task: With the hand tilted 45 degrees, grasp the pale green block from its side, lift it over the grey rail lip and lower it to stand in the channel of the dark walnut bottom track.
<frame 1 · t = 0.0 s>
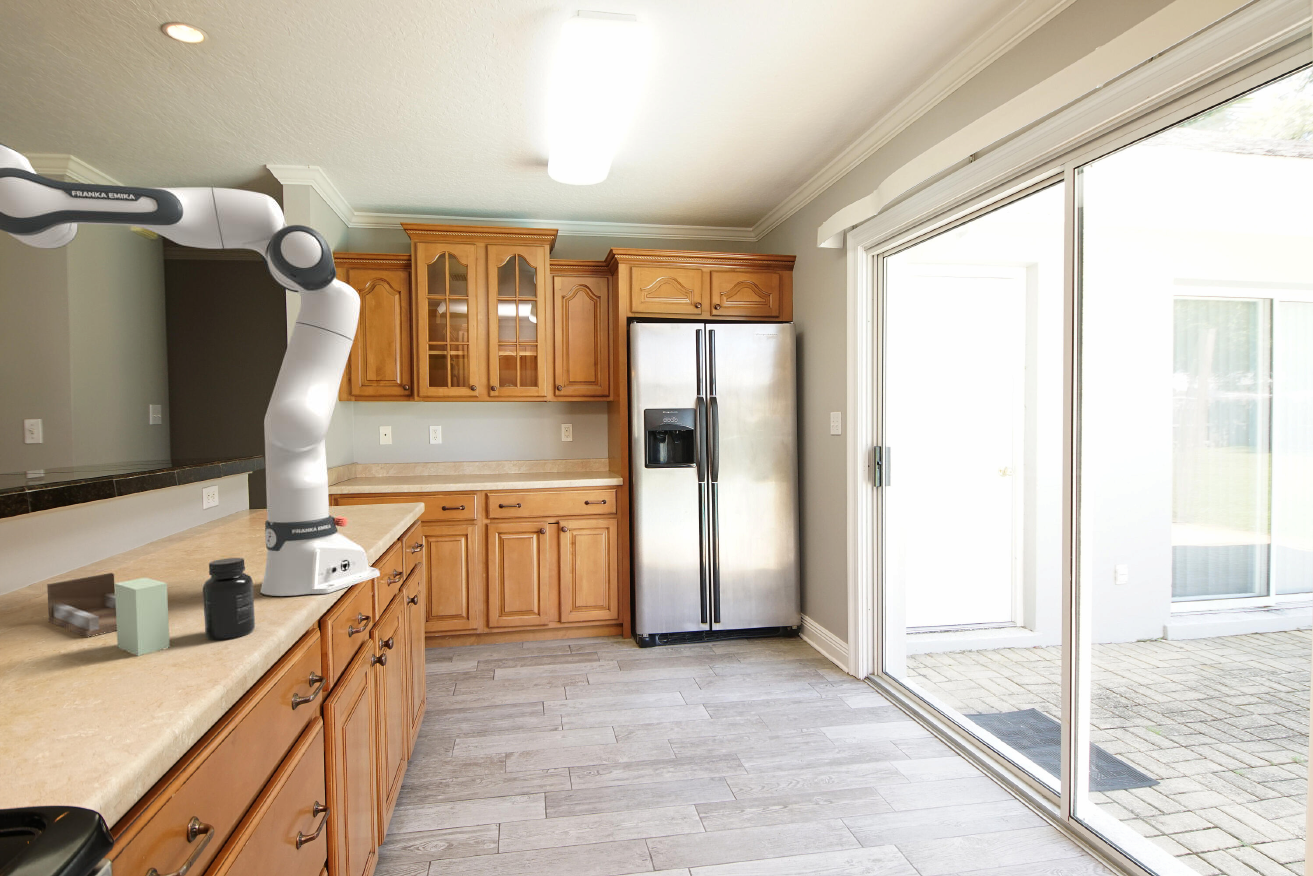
supplement bottle: (230, 634, 107), on the countertop
pale green block: (143, 647, 101), on the countertop
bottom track: (101, 621, 114), on the countertop
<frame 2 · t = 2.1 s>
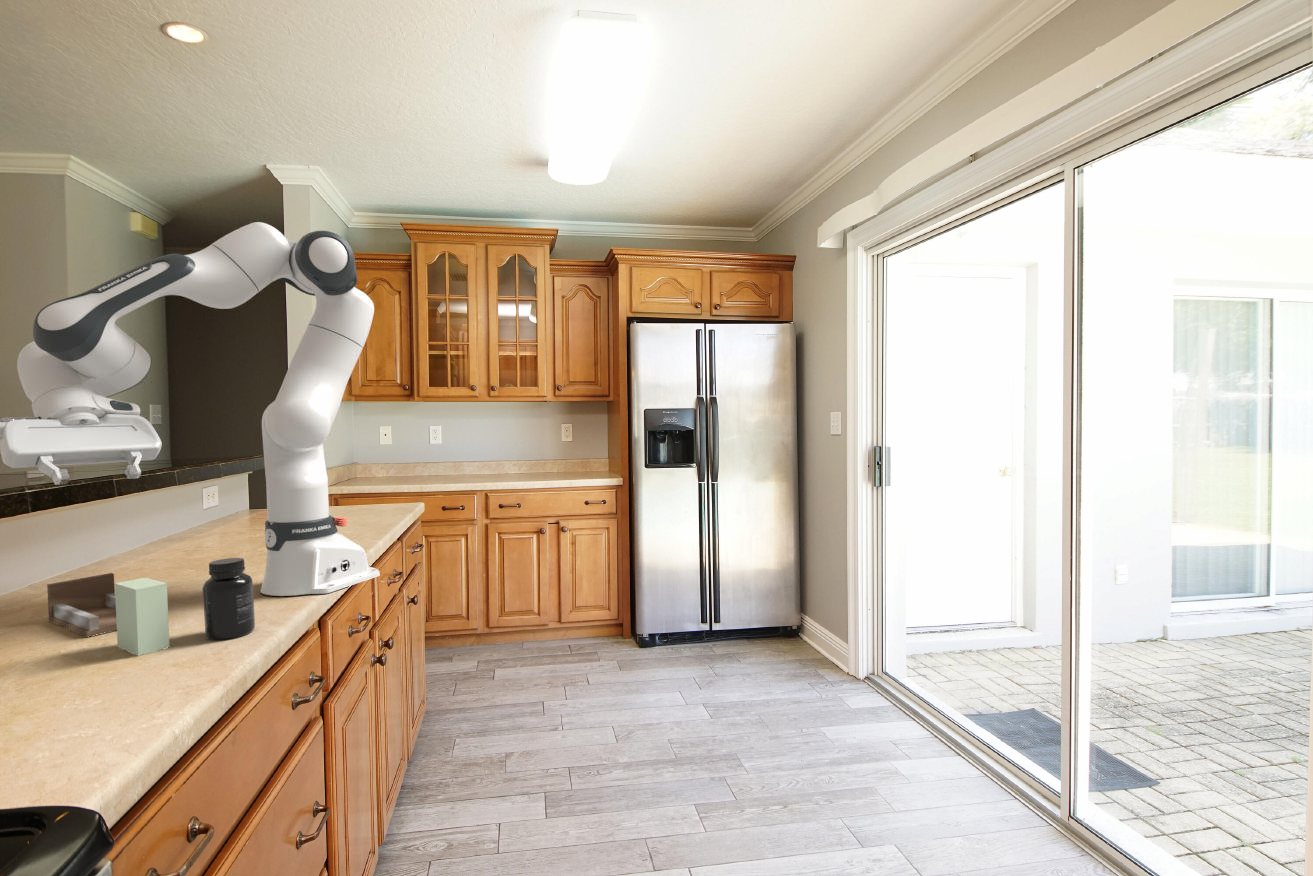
hand: (100, 478, 106), 25 cm above the countertop, tool tilted 45°, fingers open, 8 cm apart
nothing on the countertop moved.
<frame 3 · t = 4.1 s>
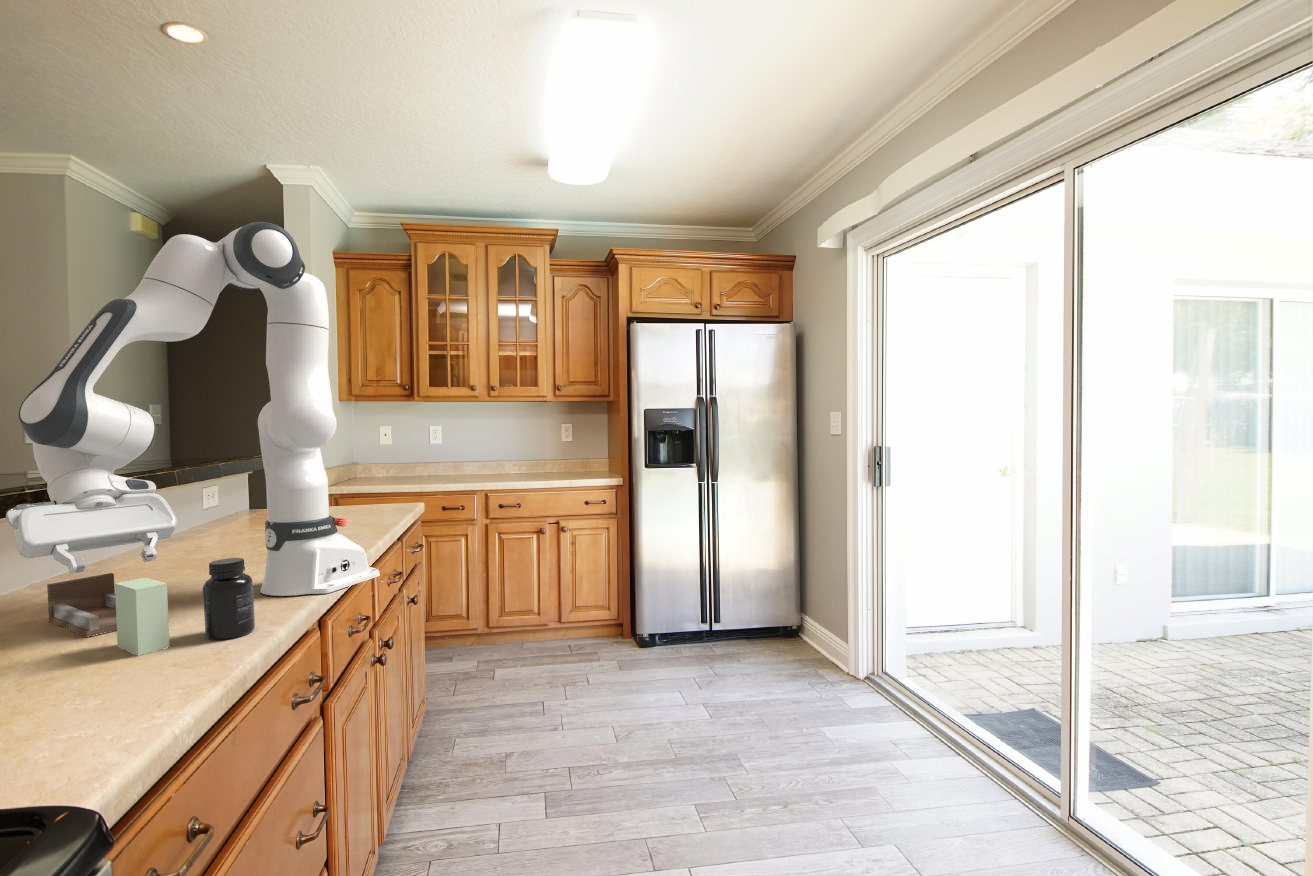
hand: (115, 564, 104), 12 cm above the countertop, tool tilted 45°, fingers open, 8 cm apart
nothing on the countertop moved.
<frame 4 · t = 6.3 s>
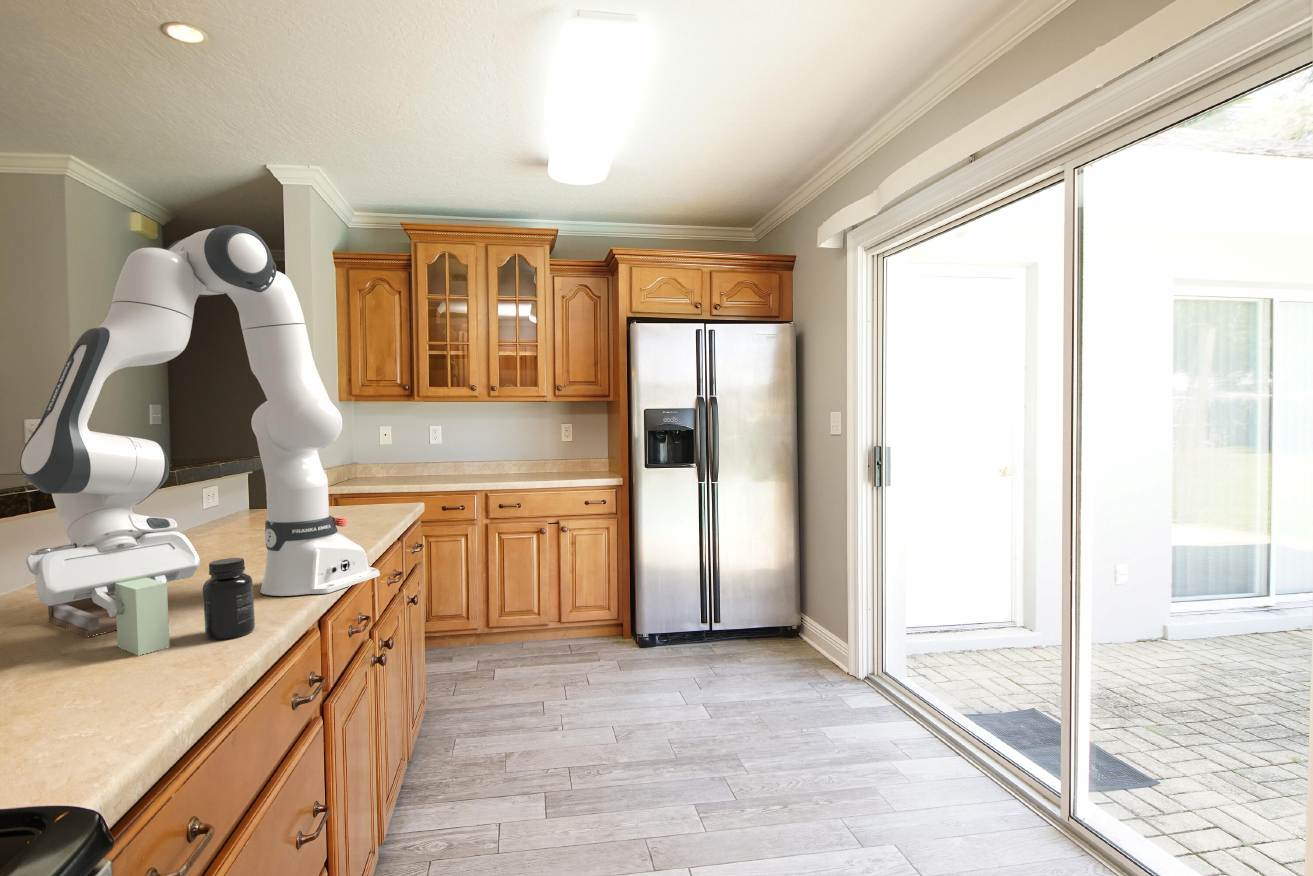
hand: (139, 608, 101), 6 cm above the countertop, tool tilted 45°, fingers closed on pale green block, 4 cm apart
pale green block: (143, 647, 101), on the countertop, touching gripper
everything else where it was.
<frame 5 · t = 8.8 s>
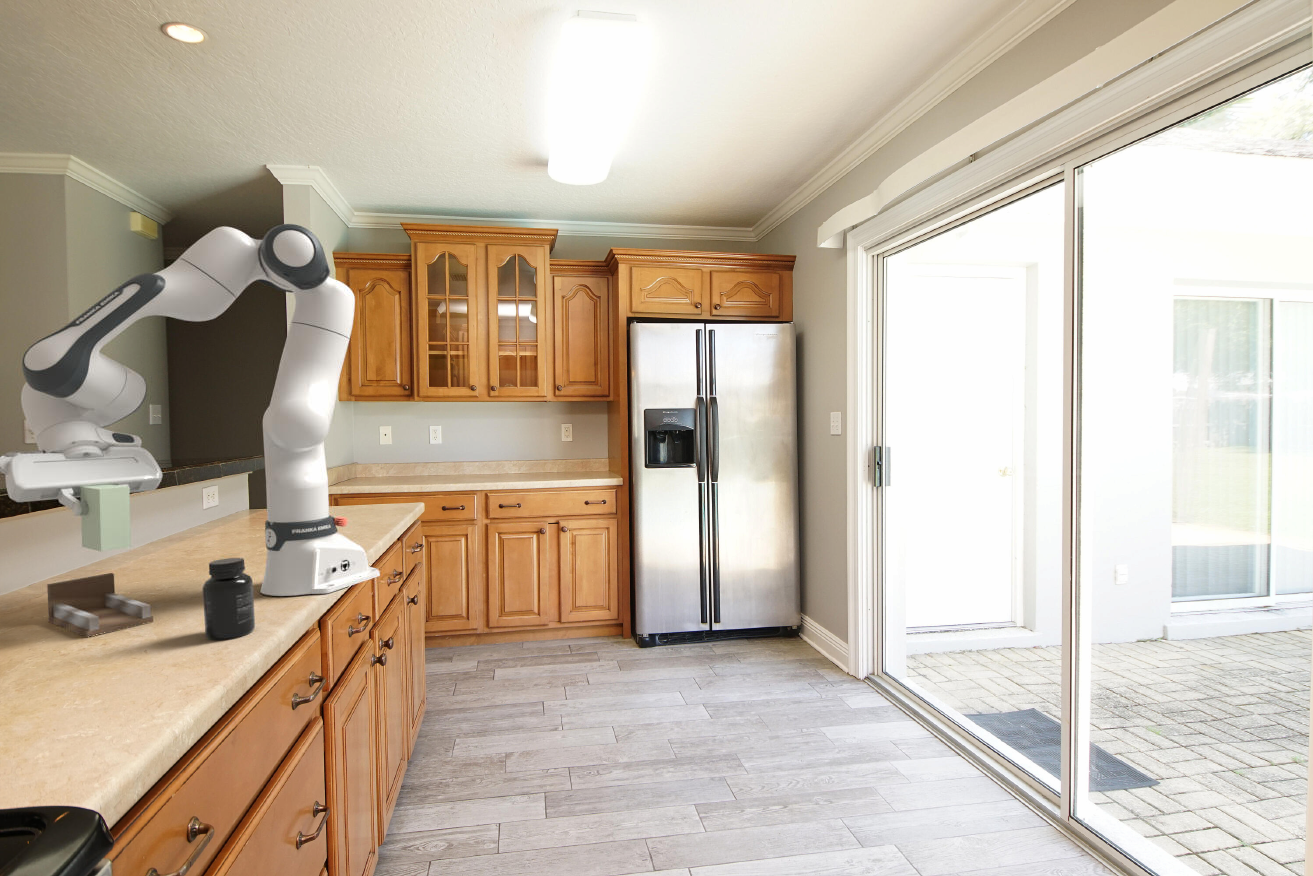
hand: (103, 511, 109), 20 cm above the countertop, tool tilted 45°, fingers closed on pale green block, 4 cm apart
pale green block: (106, 546, 109), point 14 cm above the countertop, touching gripper
everything else where it was.
when the fingers open (8 cm above the countertop, at t = 11.7 s): pale green block drops 1 cm, resting on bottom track.
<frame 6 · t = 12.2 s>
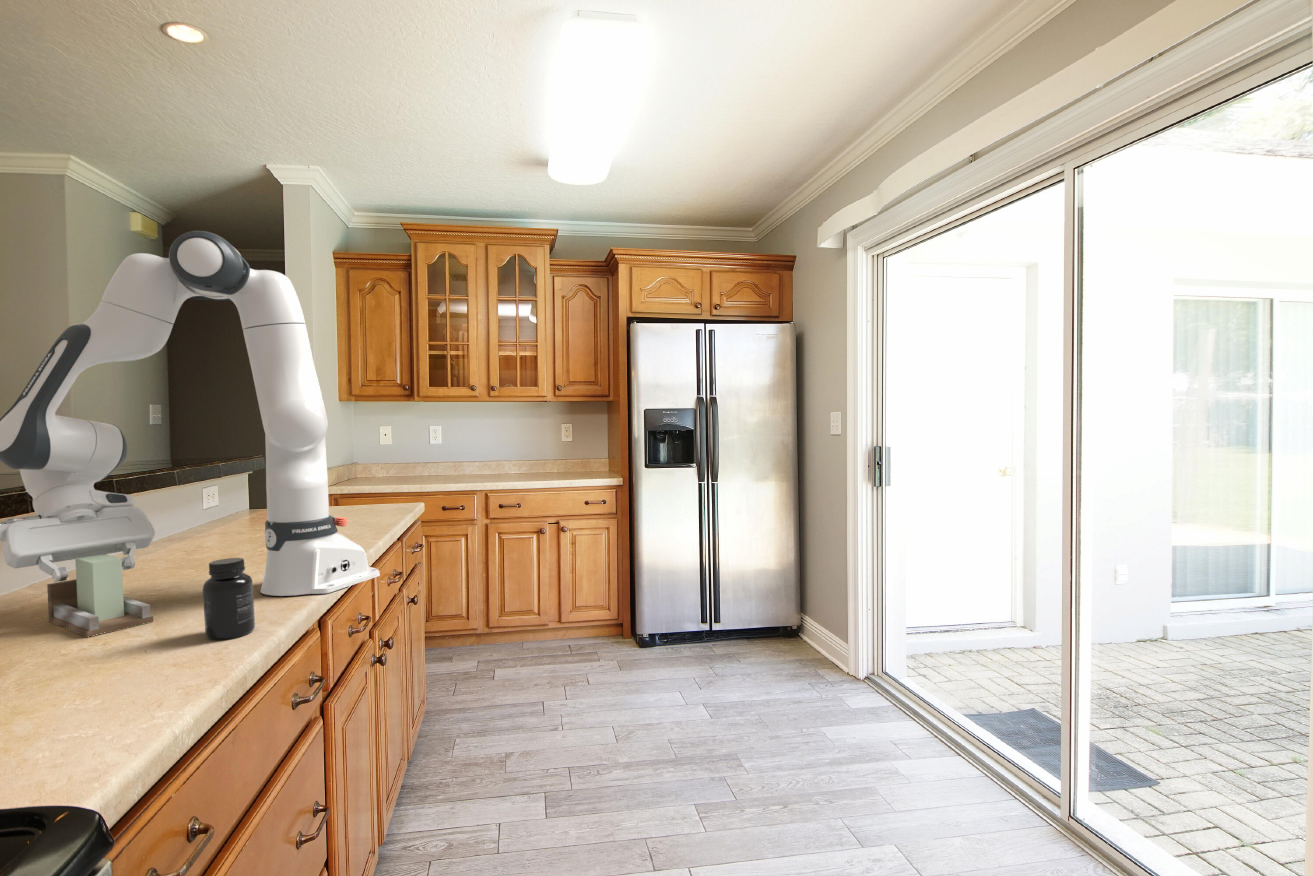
hand: (96, 573, 114), 8 cm above the countertop, tool tilted 45°, fingers open, 8 cm apart
pale green block: (101, 615, 114), point 1 cm above the countertop, touching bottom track
everything else where it was.
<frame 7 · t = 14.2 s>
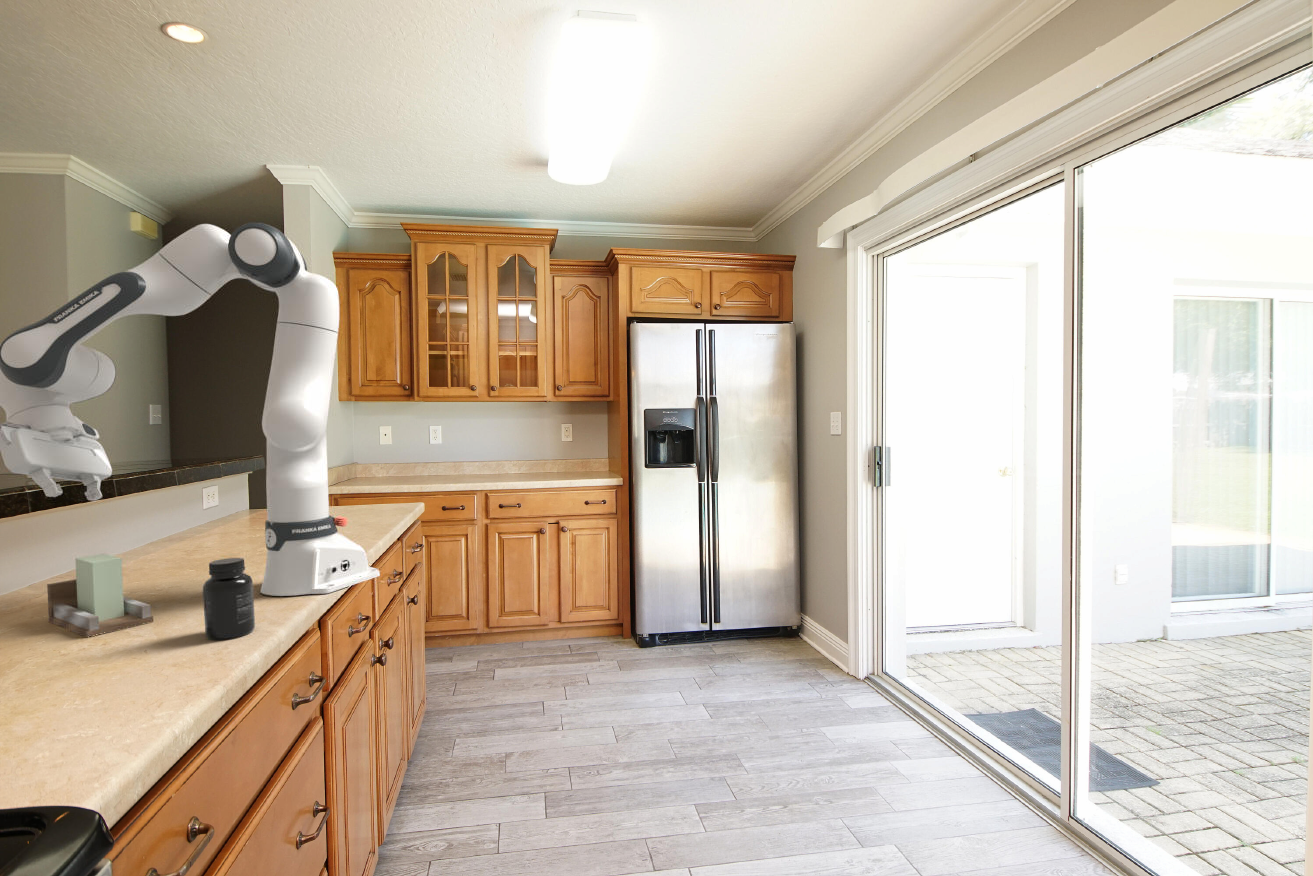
hand: (76, 497, 119), 21 cm above the countertop, tool tilted 30°, fingers open, 8 cm apart
nothing on the countertop moved.
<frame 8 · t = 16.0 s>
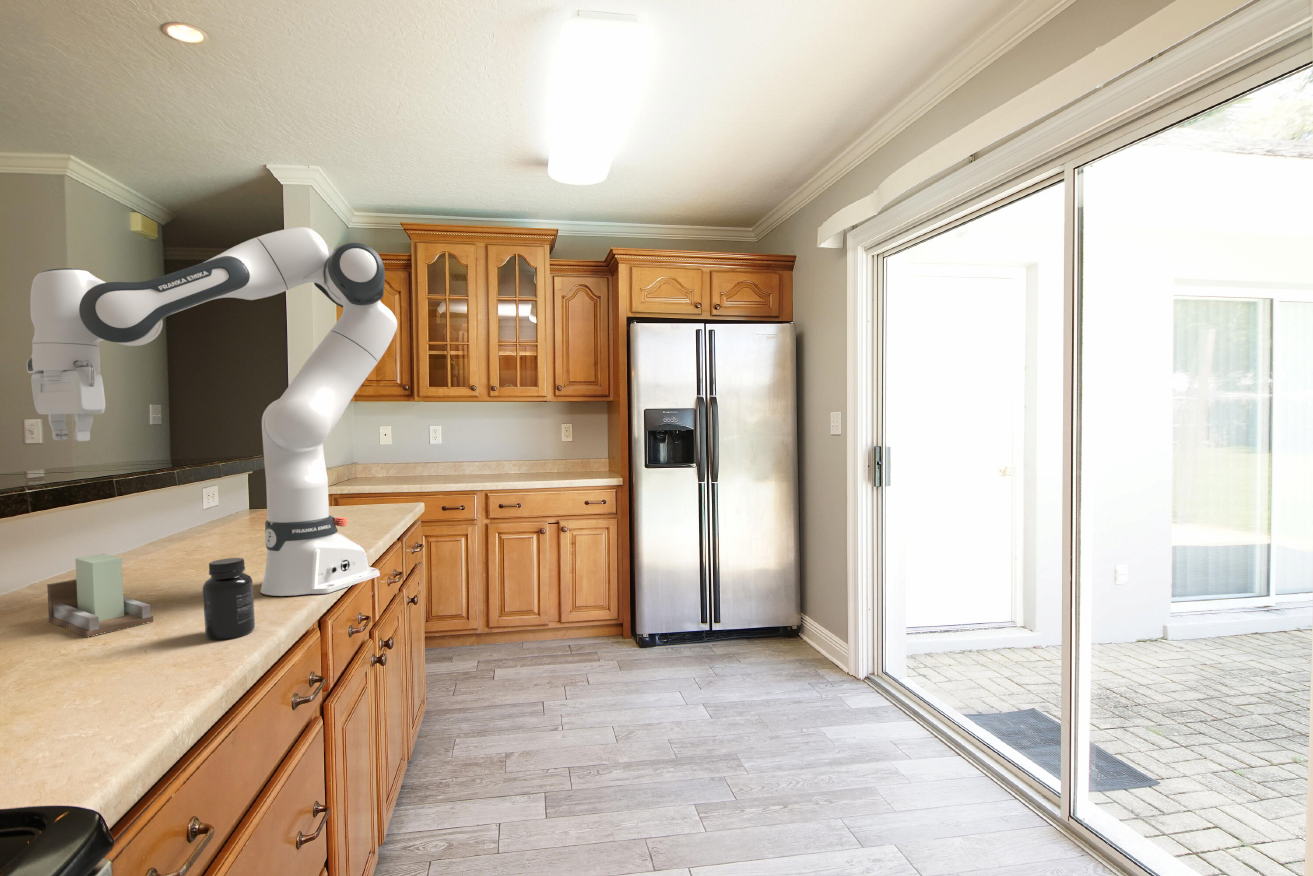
hand: (71, 440, 117), 31 cm above the countertop, tool pointing down, fingers open, 8 cm apart
nothing on the countertop moved.
at the end: pale green block inside the target area on the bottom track (0.1 cm from its centre), point 1.0 cm above the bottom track's base; pale green block tilted 0°; the gripper is holding nothing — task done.
